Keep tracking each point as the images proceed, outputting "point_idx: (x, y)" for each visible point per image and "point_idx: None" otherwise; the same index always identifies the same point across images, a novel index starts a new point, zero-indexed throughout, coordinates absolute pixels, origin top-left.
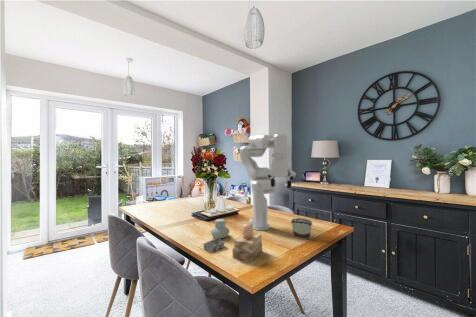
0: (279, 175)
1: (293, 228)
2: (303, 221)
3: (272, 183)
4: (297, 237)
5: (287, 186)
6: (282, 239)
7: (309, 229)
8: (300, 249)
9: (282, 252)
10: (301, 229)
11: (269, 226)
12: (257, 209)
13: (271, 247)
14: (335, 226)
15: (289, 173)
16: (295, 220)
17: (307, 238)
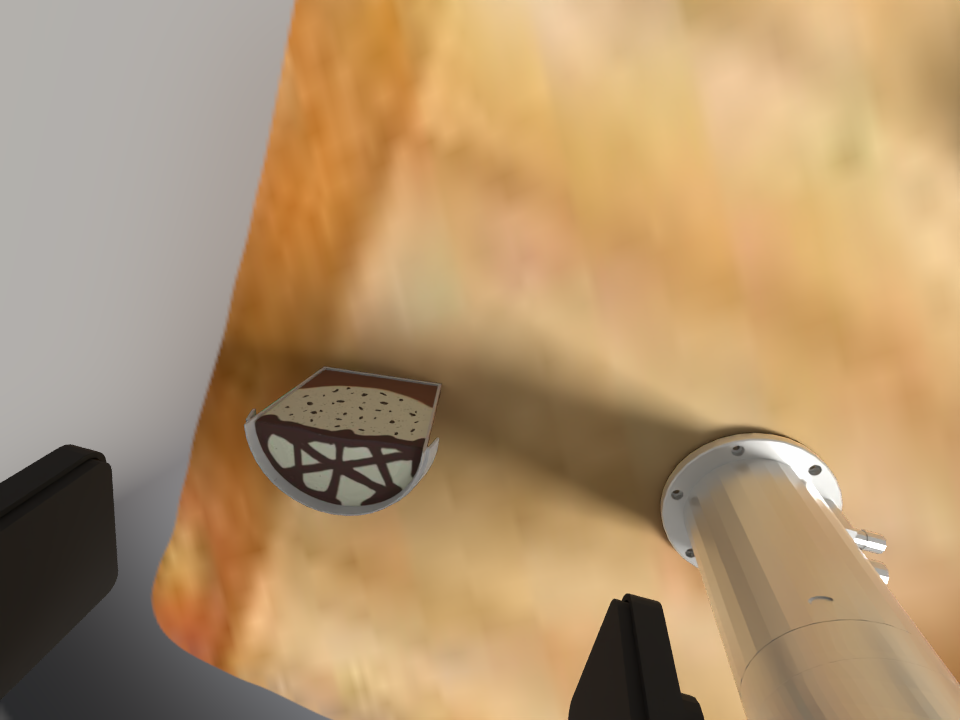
0: None
1: (426, 414)
2: (327, 463)
3: (625, 702)
4: (411, 379)
5: (52, 474)
6: (507, 303)
7: (291, 399)
8: (337, 157)
9: (446, 34)
10: (359, 404)
11: (665, 513)
12: (843, 581)
13: (554, 100)
14: (235, 640)
15: None
16: (399, 474)
17: (337, 372)
